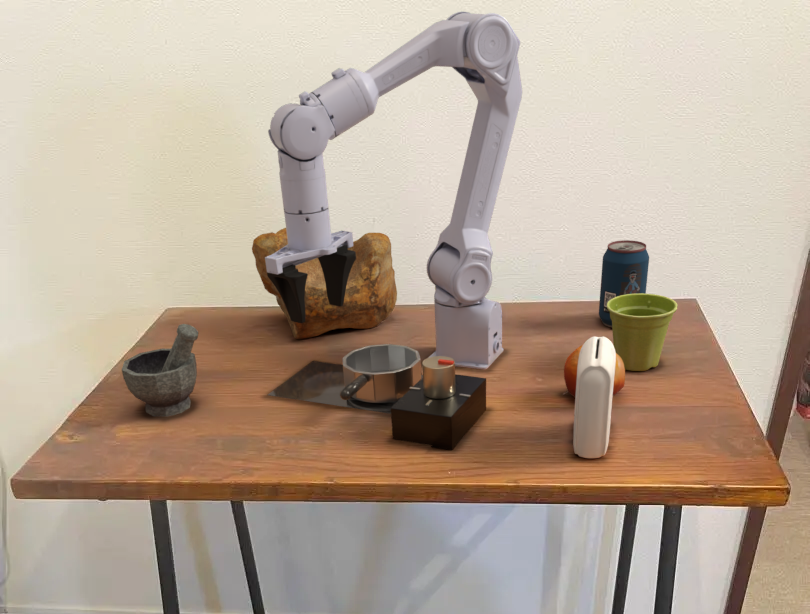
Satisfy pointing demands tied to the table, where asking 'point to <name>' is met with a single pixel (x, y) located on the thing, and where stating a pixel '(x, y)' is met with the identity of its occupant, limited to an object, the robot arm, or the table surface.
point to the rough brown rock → (365, 288)
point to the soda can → (622, 273)
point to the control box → (439, 413)
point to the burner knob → (439, 377)
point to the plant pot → (640, 328)
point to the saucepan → (380, 373)
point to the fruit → (571, 373)
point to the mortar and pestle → (164, 375)
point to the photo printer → (594, 397)
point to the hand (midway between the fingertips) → (317, 313)
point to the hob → (323, 388)
